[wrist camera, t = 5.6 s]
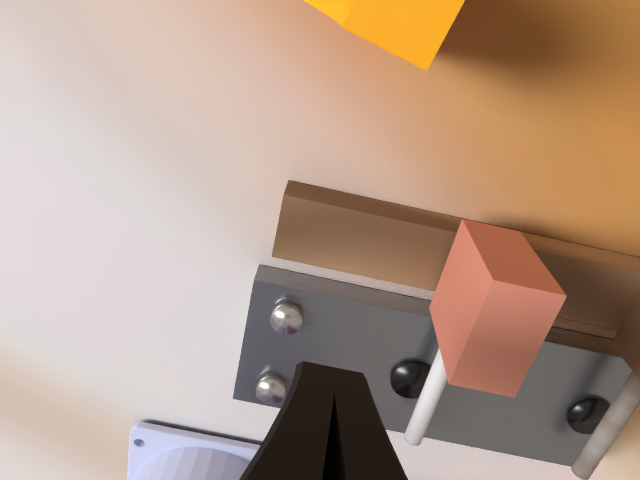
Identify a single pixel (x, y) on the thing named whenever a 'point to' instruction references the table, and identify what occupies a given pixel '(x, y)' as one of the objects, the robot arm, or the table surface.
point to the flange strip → (422, 367)
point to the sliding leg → (486, 317)
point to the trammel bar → (430, 258)
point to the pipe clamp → (396, 24)
